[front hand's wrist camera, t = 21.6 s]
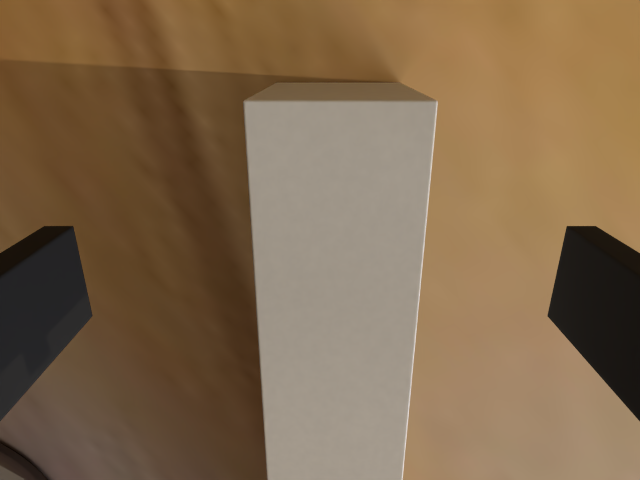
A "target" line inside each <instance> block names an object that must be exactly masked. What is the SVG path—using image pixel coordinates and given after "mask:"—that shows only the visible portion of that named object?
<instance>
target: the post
mask: <svg viewBox="0 0 640 480" xmlns="http://www.w3.org/2000/svg"><path fill="white" fill-rule="evenodd" d="M437 104H438V102H437V100H435V99H432V98H430V97H428V96H426V95H424V94H422V93H420V92H418V91H416V90H414V89H412V88H410V87H408V86H406V85H404V84H402V83H275V84H273V85H271V86H269V87H267V88H266V89H264V90H262V91H260V92H258V93H257V94H255V95H253V96H251V97H249V98H247V99H246V100H244V101H243V108H244V124H245V139H246V155H247V171H248V186H249V202H250V218H251V233H252V249H253V265H254V280H255V296H256V312H257V327H258V343H259V359H260V374H261V390H262V406H263V421H264V437H265V453H266V468H267V480H402V479H403V468H404V457H405V447H406V436H407V425H408V415H409V404H410V393H411V382H412V372H413V361H414V350H415V340H416V329H417V318H418V308H419V297H420V286H421V276H422V265H423V254H424V243H425V233H426V222H427V211H428V201H429V190H430V179H431V169H432V158H433V147H434V136H435V126H436V115H437Z"/></svg>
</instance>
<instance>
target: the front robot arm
mask: <svg viewBox="0 0 640 480" xmlns="http://www.w3.org/2000/svg"><path fill="white" fill-rule="evenodd" d="M91 317H92V312H91V307H90V302H89V298H88V293H87V288H86V284H85V279H84V274H83V270H82V265H81V260H80V256H79V251H78V247H77V242H76V237H75V233H74V228H73V226H44V227H42V228H41V229H39V230H37V231H36V232H34V233H32V234H31V235H29V236H28V237H26V238H24V239H23V240H21V241H19V242H18V243H16V244H15V245H13V246H11V247H10V248H8V249H7V250H5V251H3V252H2V253H0V421H1V420H2V419H3V417H4V416H5V415H6V414H7V413H8V412H9V411H10V409H11V408H12V407H13V406H14V405H15V404H16V403H17V401H18V400H19V399H20V398H21V397H22V396H23V395H24V393H25V392H26V391H27V390H28V389H29V388H30V387H31V386H32V384H33V383H34V382H35V381H36V380H37V379H38V378H39V376H40V375H41V374H42V373H43V372H44V371H45V370H46V368H47V367H48V366H49V365H50V364H51V363H52V362H53V360H54V359H55V358H56V357H57V356H58V355H59V354H60V352H61V351H62V350H63V349H64V348H65V347H66V346H67V344H68V343H69V342H70V341H71V340H72V339H73V338H74V336H75V335H76V334H77V333H78V332H79V331H80V330H81V328H82V327H83V326H84V325H85V324H86V323H87V322H88V320H89V319H90V318H91ZM548 317H549V318H550V319H551V320H552V322H553V323H554V324H555V325H556V326H557V327H558V328H559V330H560V331H561V332H562V333H563V334H564V335H565V336H566V338H567V339H568V340H569V341H570V342H571V343H572V344H573V346H574V347H575V348H576V349H577V350H578V351H579V352H580V354H581V355H582V356H583V357H584V358H585V359H586V360H587V362H588V363H589V364H590V365H591V366H592V367H593V368H594V370H595V371H596V372H597V373H598V374H599V375H600V376H601V378H602V379H603V380H604V381H605V382H606V383H607V384H608V386H609V387H610V388H611V389H612V390H613V391H614V392H615V393H616V395H617V396H618V397H619V398H620V399H621V400H622V401H623V403H624V404H625V405H626V406H627V407H628V408H629V409H630V411H631V412H632V413H633V414H634V415H635V416H636V417H637V419H638V420H639V421H640V253H638V252H637V251H635V250H633V249H632V248H630V247H629V246H627V245H625V244H624V243H622V242H621V241H619V240H617V239H616V238H614V237H612V236H611V235H609V234H608V233H606V232H604V231H603V230H601V229H599V228H598V227H596V226H567V228H566V233H565V237H564V242H563V247H562V251H561V256H560V260H559V265H558V270H557V274H556V279H555V284H554V288H553V293H552V298H551V302H550V307H549V312H548ZM0 480H47V479H46V478H45V477H44V475H43V474H42V473H41V472H40V471H39V470H38V469H37V468H35V467H34V466H33V465H32V464H31V463H30V462H28V461H27V460H26V459H24V458H23V457H22V456H20V455H19V454H17V453H16V452H14V451H13V450H11V449H9V448H7V447H6V446H4V445H2V444H0Z"/></svg>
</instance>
